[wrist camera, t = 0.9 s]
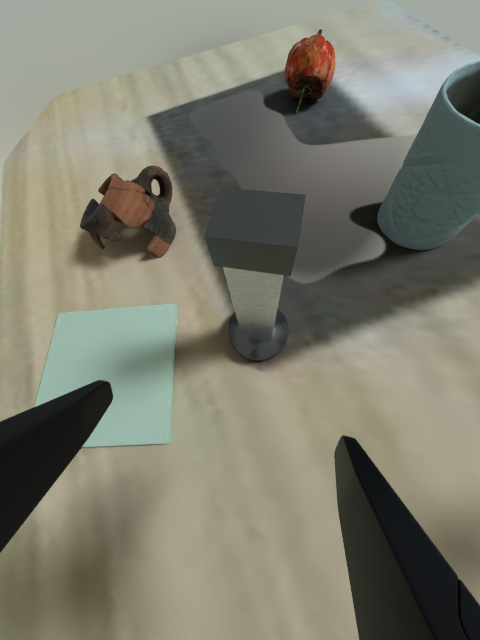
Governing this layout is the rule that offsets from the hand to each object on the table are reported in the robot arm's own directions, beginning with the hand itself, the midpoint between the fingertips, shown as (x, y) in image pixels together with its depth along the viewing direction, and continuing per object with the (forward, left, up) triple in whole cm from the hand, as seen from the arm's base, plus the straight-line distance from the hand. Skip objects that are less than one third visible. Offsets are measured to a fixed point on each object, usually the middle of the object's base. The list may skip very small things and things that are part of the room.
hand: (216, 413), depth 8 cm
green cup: (+20, -22, -14) cm, 33 cm away
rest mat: (+4, +14, -14) cm, 20 cm away
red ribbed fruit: (+47, -13, -14) cm, 51 cm away
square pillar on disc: (+7, -2, -14) cm, 16 cm away
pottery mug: (+23, +12, -14) cm, 29 cm away
